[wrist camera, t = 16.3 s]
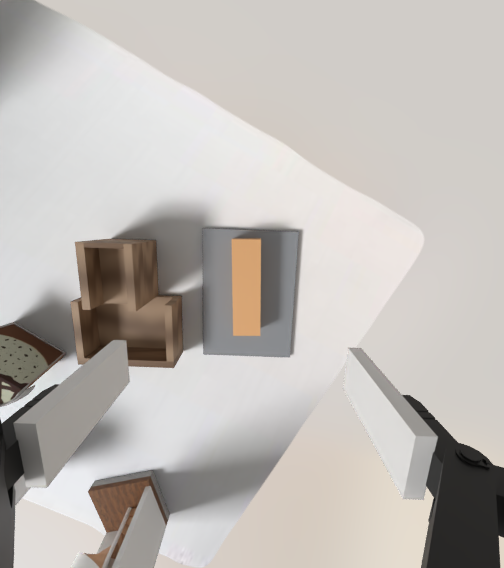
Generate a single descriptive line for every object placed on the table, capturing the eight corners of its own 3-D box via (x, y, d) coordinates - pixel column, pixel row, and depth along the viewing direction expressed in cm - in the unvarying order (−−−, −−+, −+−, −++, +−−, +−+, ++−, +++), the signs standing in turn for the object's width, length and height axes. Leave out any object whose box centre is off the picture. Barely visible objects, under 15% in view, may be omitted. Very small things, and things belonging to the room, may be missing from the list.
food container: (-10, 345, 43) (-86, 380, 34) (5, 316, 42) (-70, 344, 33) (58, 384, 45) (3, 428, 35) (74, 357, 44) (22, 395, 34)
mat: (203, 228, 39) (202, 228, 38) (298, 231, 39) (298, 231, 38) (204, 352, 43) (203, 354, 43) (289, 355, 43) (289, 357, 43)
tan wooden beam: (233, 238, 39) (231, 239, 36) (260, 238, 39) (261, 239, 36) (234, 328, 42) (233, 335, 39) (259, 328, 42) (260, 335, 39)
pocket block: (86, 237, 39) (45, 241, 32) (180, 241, 39) (161, 245, 32) (98, 348, 43) (63, 375, 36) (182, 351, 43) (167, 379, 35)
